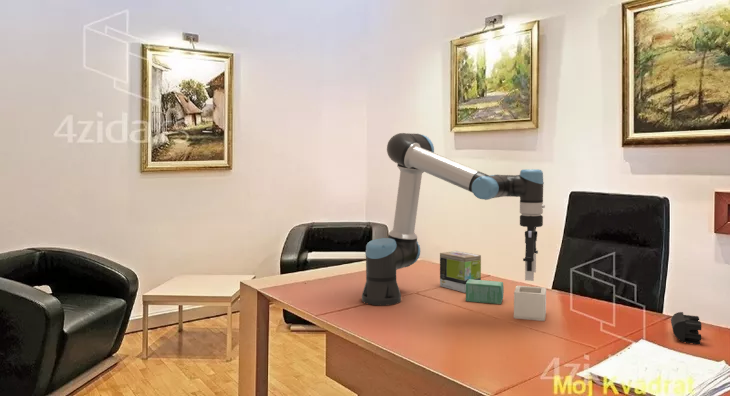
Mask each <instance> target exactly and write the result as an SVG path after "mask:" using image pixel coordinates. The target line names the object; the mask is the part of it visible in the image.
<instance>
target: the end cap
mask: <svg viewBox="0 0 730 396" xmlns="http://www.w3.org/2000/svg"><path fill="white" fill-rule="evenodd" d="M670 322H671V328H672V332H673V335H674V337H676V338H677V339H678V340H679V341H680V342H681V343H684V342H686V343H685V344H690V343H693V344H692V345H697V344H700V345H702V342H701V340H702V334H701V333H700V332H699V331H702V322H701V321H700V317H699V316H698V315H689V314H684V312H683V311H679V312H676V313H674V314H673V315H672V316H671V319H670Z"/></svg>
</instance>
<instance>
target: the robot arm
mask: <svg viewBox="0 0 730 396" xmlns="http://www.w3.org/2000/svg"><path fill="white" fill-rule="evenodd" d="M386 152H387V156H388V158H389V160H391V161H392V162H394V163H396V165H397V168H398V169H399V171H400V172H399V180H398V181H399V182H398V188H397V196H396V201H395V202H396V204H395V211H394V219H393V226H392V230H390V231H389V232H388V237H380V238H375V239H372V240H370V241H369V242H366V243H367V244H366V245H365V254H364V255H365V274H366V275H365V276H366V277H365V278H366V279H365V280H366V281H365V284H364V288H363V291H362V294H361V302H362V303H364V302H365V303H364V304H366V303H368V304H367V305H370V304H372V305H371V306H391V305H392V304H393V305H396V303H397V304H400V303H401V302H402V294H401V291H400V287H399V283H398V281H397V270H400V269H403V268H408V267H410V266H411V265H413V264H415V263H416V262H417V261H418V260H419V258H420V255H421V247H420V244H419V242H418V235H417V234H416V232H415V227H416V220H417V214H418V213H417V212H418V207H419V206H418V205H419V199H420V192H421V191H420V190H421V184H422V177H423V173H426V174H429V175H431V176H433V177H435V178H437V179H440V180H443V181H444V182H447V183H449V184H452V185H454V186H455V187H456V186H457V187H459V188H461V189H463V190H466V191H468V192H470V193H472V194H473V196H475V198H477V199H479V200H485V201H487V200H492V199H496V198H503V197H505V198H506V197H507V198H508V197H516V198H517V197H518V198H519V214H520V216H519V226H521V227H525V228H527V229H526V230H524V231H525V232H524V244H525V251H524V252H525V253H524V255H525V257H523V258H522V259H523V260H522V261H523V262H524V264H525V266H524V270H525V271H524V281H527V282H529V281H530V282H534V278H535V276H534V275H535V274H534V273H536V272H537V254H539V250H537V241H538V240H537V239H538V238H537V237H538V231H537V228H541V227H543V225H544V216H543V212H544V210H543V209H545V208H546V205H544V204H543V203H544V185H545V184H544V183H545V182H544V172H543V170H542V169H533V168H532V169H521V170H520V171H519V174H515V175H513V174H487V173H484V172H482V171H479V170H477V169H474V168H472V167H470V166H467V165H465V164H462V163H460V162H457V161H455V160H452V159H450V158H447V157H445V156H442V155H440V154H438V153H435V146H434V144H433V141H432V140H431V139H430V138H429V136H427V135H424V134H421V133H409V132H408V133H406V132H401V133H397V134H394V135H393V136H391V138H390V139H389V140H388V142H387V145H386Z"/></svg>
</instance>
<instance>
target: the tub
mask: <svg viewBox="0 0 730 396" xmlns="http://www.w3.org/2000/svg"><path fill="white" fill-rule="evenodd" d="M546 315H547V287H543V286H542V287H541V286H528V285H527V286H526V285H516V286H515V289H514V291H513V319H516V320H517V319H519V320H527V321H529V320H530V321H539V322H545V321H546Z"/></svg>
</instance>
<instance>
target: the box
mask: <svg viewBox="0 0 730 396" xmlns="http://www.w3.org/2000/svg"><path fill="white" fill-rule="evenodd" d="M504 288H505V287H504V282H503V281H498V280H497V281H496V280H484V279H481V280H473V279H469V280H468V281H467V282H466V293H465V302H471V303H484V304H492V305H501V304H502V302H503V299H504V291H505V290H504Z"/></svg>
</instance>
